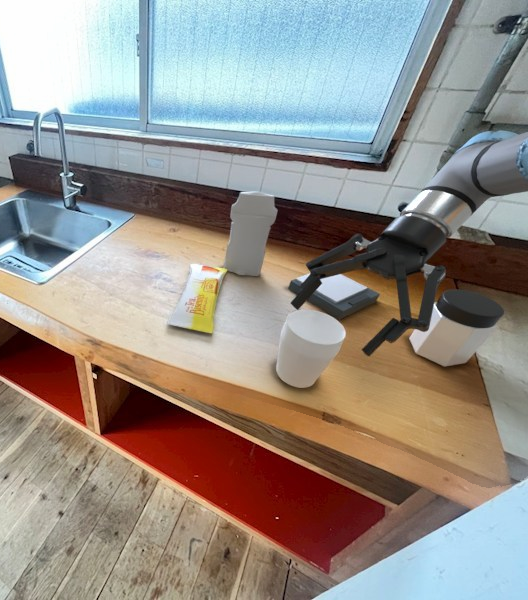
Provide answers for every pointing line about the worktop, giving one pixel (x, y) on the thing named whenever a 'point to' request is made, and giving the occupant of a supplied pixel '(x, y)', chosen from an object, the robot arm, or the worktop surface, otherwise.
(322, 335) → the cup
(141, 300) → the worktop surface
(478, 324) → the jar
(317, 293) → the scale
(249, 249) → the tall pale column
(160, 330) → the worktop surface
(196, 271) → the food package
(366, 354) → the robot arm
